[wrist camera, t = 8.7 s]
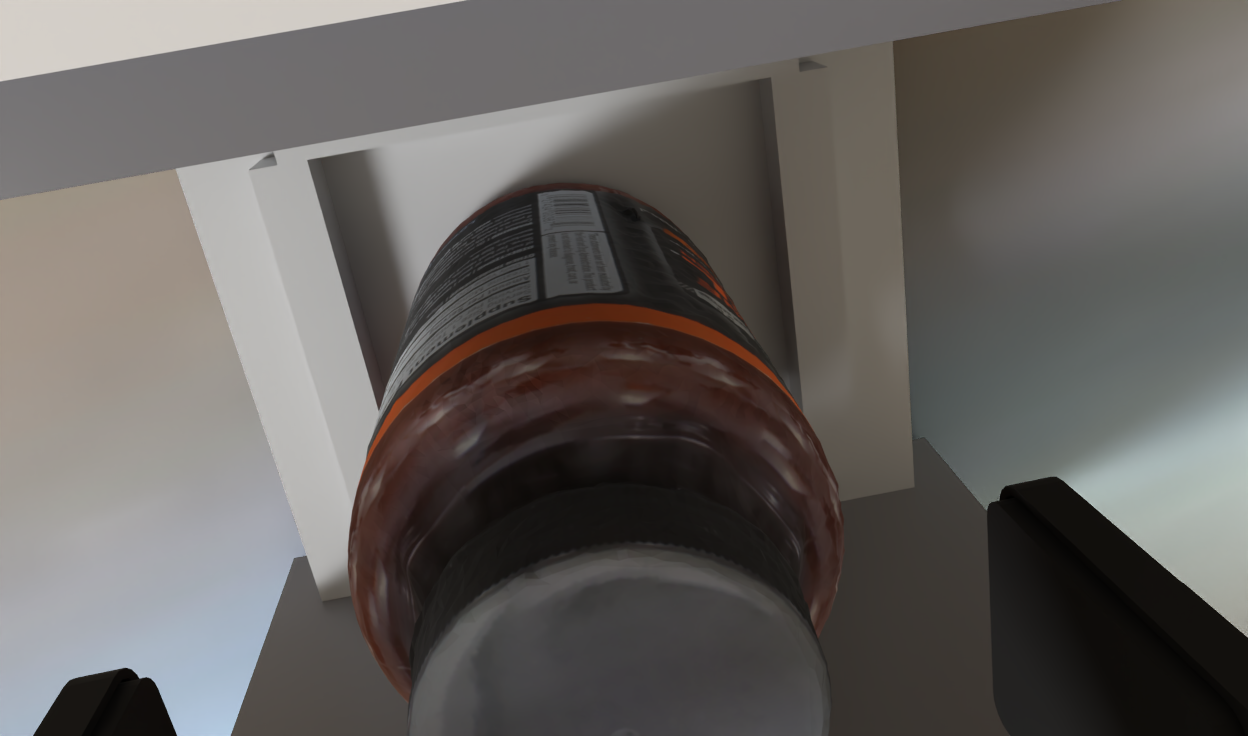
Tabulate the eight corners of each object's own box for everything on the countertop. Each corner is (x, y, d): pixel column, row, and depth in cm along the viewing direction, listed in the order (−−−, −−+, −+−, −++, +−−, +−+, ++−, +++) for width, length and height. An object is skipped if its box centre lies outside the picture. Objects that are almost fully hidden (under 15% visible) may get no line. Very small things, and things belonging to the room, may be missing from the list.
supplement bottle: (765, 375, 20) (1026, 817, 10) (511, 506, 21) (509, 1051, 11) (631, 112, 18) (792, 333, 8) (349, 267, 19) (146, 666, 8)
